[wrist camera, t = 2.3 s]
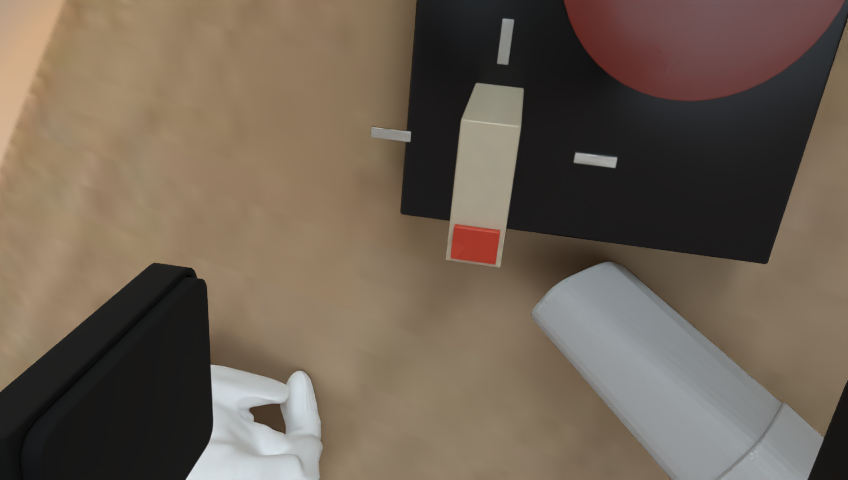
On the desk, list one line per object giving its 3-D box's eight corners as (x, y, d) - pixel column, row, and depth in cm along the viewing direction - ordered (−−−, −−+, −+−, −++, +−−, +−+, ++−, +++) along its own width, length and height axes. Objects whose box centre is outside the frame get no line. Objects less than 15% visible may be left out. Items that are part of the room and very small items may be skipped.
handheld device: (1012, 644, 29) (1125, 996, 17) (623, 283, 37) (500, 338, 24) (1099, 595, 28) (1297, 946, 15) (674, 228, 36) (570, 259, 23)
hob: (407, -229, 22) (392, -249, 19) (881, -195, 20) (927, -211, 18) (379, 215, 28) (365, 241, 26) (739, 265, 27) (759, 298, 24)
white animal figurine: (221, 640, 27) (-37, 459, 26) (305, 490, 34) (107, 349, 34) (297, 550, 24) (13, 348, 24) (370, 409, 32) (156, 256, 31)
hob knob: (475, 82, 23) (459, 121, 18) (524, 88, 23) (521, 128, 18) (461, 200, 25) (444, 264, 20) (506, 206, 24) (499, 271, 20)
